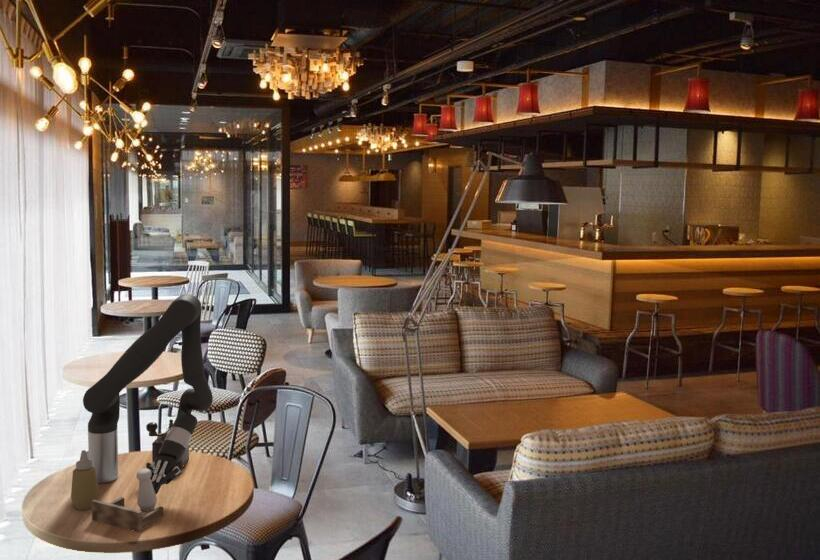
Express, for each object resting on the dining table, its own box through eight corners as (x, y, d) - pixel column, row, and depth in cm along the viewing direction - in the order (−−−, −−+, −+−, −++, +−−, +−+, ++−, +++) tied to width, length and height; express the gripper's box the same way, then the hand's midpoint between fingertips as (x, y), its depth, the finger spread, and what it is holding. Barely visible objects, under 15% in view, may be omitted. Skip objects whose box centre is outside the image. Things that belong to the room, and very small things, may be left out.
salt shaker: (151, 514, 229) (146, 476, 225) (134, 512, 230) (129, 474, 226) (161, 503, 234) (156, 466, 231) (144, 501, 235) (140, 465, 232)
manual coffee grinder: (159, 457, 274) (159, 410, 271) (189, 458, 274) (189, 411, 271) (144, 474, 258) (143, 424, 256) (176, 475, 258) (175, 425, 256)
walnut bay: (92, 520, 223) (91, 501, 222) (119, 505, 234) (119, 487, 233) (139, 532, 217) (139, 513, 216) (165, 516, 227) (165, 498, 226)
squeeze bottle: (81, 514, 227) (79, 457, 224) (65, 507, 231) (63, 451, 229) (104, 505, 234) (103, 450, 231) (88, 498, 238) (87, 444, 235)
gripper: (153, 436, 242) (127, 486, 232) (186, 441, 237) (162, 493, 228) (164, 446, 247) (140, 495, 238) (197, 452, 243) (174, 502, 233)
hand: (151, 494), depth 233 cm, fingers closed
